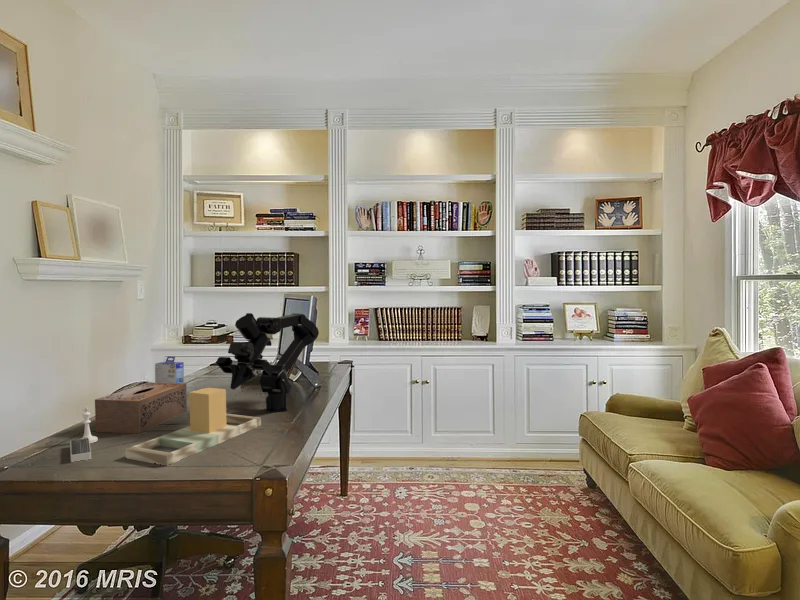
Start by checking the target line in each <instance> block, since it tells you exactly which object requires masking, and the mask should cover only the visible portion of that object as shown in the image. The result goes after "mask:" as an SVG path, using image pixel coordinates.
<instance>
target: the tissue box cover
mask: <svg viewBox="0 0 800 600" xmlns="http://www.w3.org/2000/svg"><path fill="white" fill-rule="evenodd" d="M187 394H188V392H187V383H185V382H184V383H155V382H149V381H148V382H146V383H142V384H139V385H136V386H133V387H129V388H127V389H123V390H120V391H118V392H115V393H111V394H108V395H105V396H101V397H99V398H95V399H94V415H95V417H94V418H95V432H96V433H97V432H100V433H118V434H120V433H121V434H122V433H123V434H142V433H143V432H146V431H147V430H150V429H152V428H154V427H156V426H158V425H161V424H162V423H165V422H167V421H169V420H171V419H173V418H175V417H177V416H179V415H181V414H184V413H186V412H188V404H187V403H188V400H187V399H188V398H187V396H188V395H187Z"/></svg>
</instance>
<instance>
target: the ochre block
mask: <svg viewBox="0 0 800 600" xmlns="http://www.w3.org/2000/svg"><path fill="white" fill-rule="evenodd" d="M188 393H189V395H188V396H189V426H190V430H191V431H198V432H205V433H211V432H214V431H216V430H219V429H221V428H224V427H226V426H227V423H226V414H227V389H225V388H216V387H215V388H214V387H204V388H201V389H197V390H194V391H190V392H188Z"/></svg>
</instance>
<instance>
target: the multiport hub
mask: <svg viewBox="0 0 800 600" xmlns="http://www.w3.org/2000/svg"><path fill="white" fill-rule="evenodd" d="M69 443H70V445H69V447H70V449H69V450H70V463H71V462H74V461H80V460H86V461H89V460H88V459H91V460H92V448H91V443H90V442H89V438H84V439H80V438H78V439H72V440H70V441H69ZM80 462H81V461H80ZM74 463H75V462H74Z"/></svg>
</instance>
